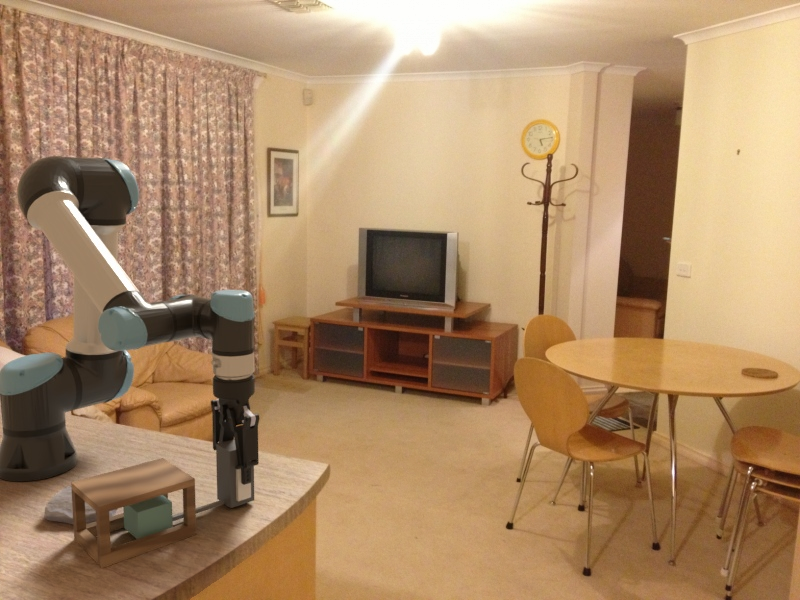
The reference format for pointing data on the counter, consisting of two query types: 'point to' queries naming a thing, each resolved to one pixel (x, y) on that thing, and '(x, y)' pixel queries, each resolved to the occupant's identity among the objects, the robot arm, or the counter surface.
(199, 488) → the counter surface
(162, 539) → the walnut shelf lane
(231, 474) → the tethered block
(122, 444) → the counter surface
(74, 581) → the counter surface
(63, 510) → the stone block
